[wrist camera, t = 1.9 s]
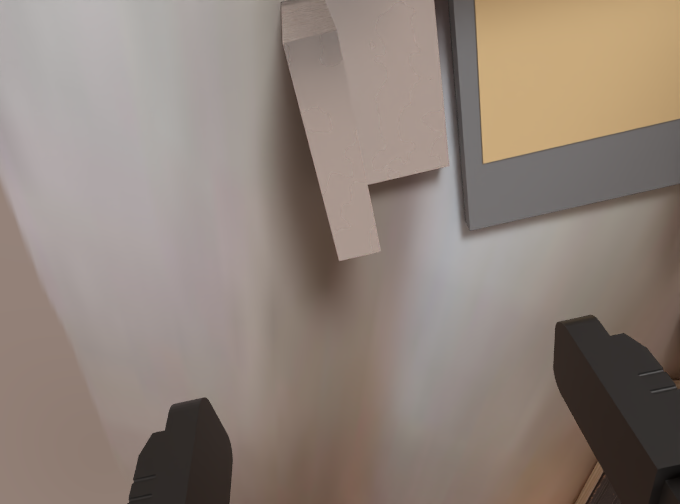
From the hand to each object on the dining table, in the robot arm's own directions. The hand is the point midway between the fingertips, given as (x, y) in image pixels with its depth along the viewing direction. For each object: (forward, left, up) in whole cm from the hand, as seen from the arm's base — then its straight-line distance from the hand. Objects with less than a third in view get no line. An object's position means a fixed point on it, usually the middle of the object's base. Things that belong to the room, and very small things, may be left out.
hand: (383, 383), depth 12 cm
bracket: (-3, 0, -20) cm, 20 cm away
